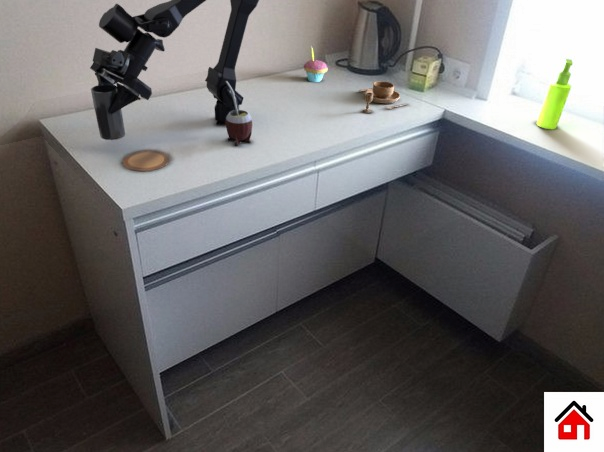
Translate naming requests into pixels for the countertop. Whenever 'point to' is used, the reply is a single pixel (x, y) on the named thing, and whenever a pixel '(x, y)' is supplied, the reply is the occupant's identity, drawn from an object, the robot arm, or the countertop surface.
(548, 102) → the soap dispenser
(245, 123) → the mate gourd
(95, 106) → the grey metal tumbler
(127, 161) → the trivet
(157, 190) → the countertop surface
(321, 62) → the cupcake
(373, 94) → the place setting
